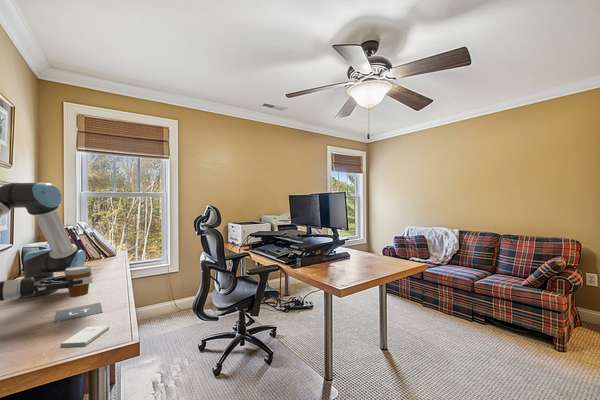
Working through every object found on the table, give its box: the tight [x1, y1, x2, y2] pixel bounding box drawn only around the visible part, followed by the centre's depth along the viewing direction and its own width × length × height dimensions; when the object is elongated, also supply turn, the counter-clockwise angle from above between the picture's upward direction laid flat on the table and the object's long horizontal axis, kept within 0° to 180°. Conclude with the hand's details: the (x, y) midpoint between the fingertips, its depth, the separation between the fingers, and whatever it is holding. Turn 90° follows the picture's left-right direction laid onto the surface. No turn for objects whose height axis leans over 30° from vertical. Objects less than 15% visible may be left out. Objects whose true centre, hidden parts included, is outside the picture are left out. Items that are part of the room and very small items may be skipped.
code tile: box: [53, 302, 103, 324], centre depth 121 cm, size 15×16×1 cm
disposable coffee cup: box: [63, 264, 93, 298], centre depth 120 cm, size 10×10×12 cm
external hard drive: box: [59, 325, 110, 348], centre depth 98 cm, size 2×8×12 cm
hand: (91, 277), depth 123 cm, fingers closed on disposable coffee cup, 8 cm apart
